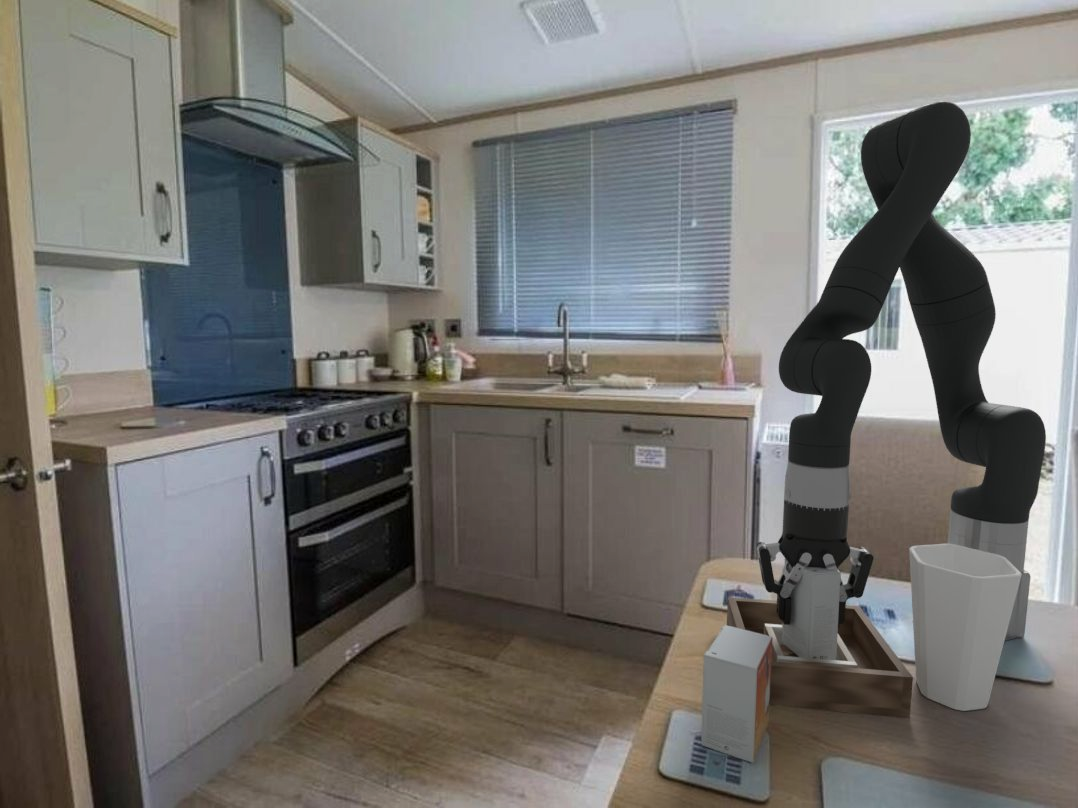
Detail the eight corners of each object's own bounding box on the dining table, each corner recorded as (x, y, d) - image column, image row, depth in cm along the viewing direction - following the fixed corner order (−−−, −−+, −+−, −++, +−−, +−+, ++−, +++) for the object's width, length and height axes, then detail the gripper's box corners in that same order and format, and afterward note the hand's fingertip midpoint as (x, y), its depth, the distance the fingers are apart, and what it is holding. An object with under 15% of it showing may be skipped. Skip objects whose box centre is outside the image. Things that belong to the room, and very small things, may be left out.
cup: (1018, 730, 68) (1033, 584, 66) (913, 711, 72) (924, 571, 70) (985, 676, 79) (997, 548, 76) (894, 662, 82) (904, 539, 80)
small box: (753, 765, 63) (757, 669, 62) (699, 746, 66) (702, 654, 65) (770, 722, 70) (774, 635, 69) (720, 706, 73) (723, 622, 72)
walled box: (857, 639, 88) (859, 606, 88) (909, 718, 71) (913, 677, 70) (726, 629, 91) (727, 597, 91) (746, 702, 74) (747, 663, 73)
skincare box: (837, 663, 78) (845, 572, 77) (806, 667, 77) (813, 574, 76) (807, 639, 84) (814, 554, 83) (777, 642, 83) (783, 556, 82)
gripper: (866, 491, 80) (858, 614, 83) (751, 487, 83) (747, 606, 85) (889, 508, 73) (879, 643, 75) (762, 503, 75) (756, 633, 78)
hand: (809, 623), depth 80 cm, fingers closed on skincare box, 5 cm apart
